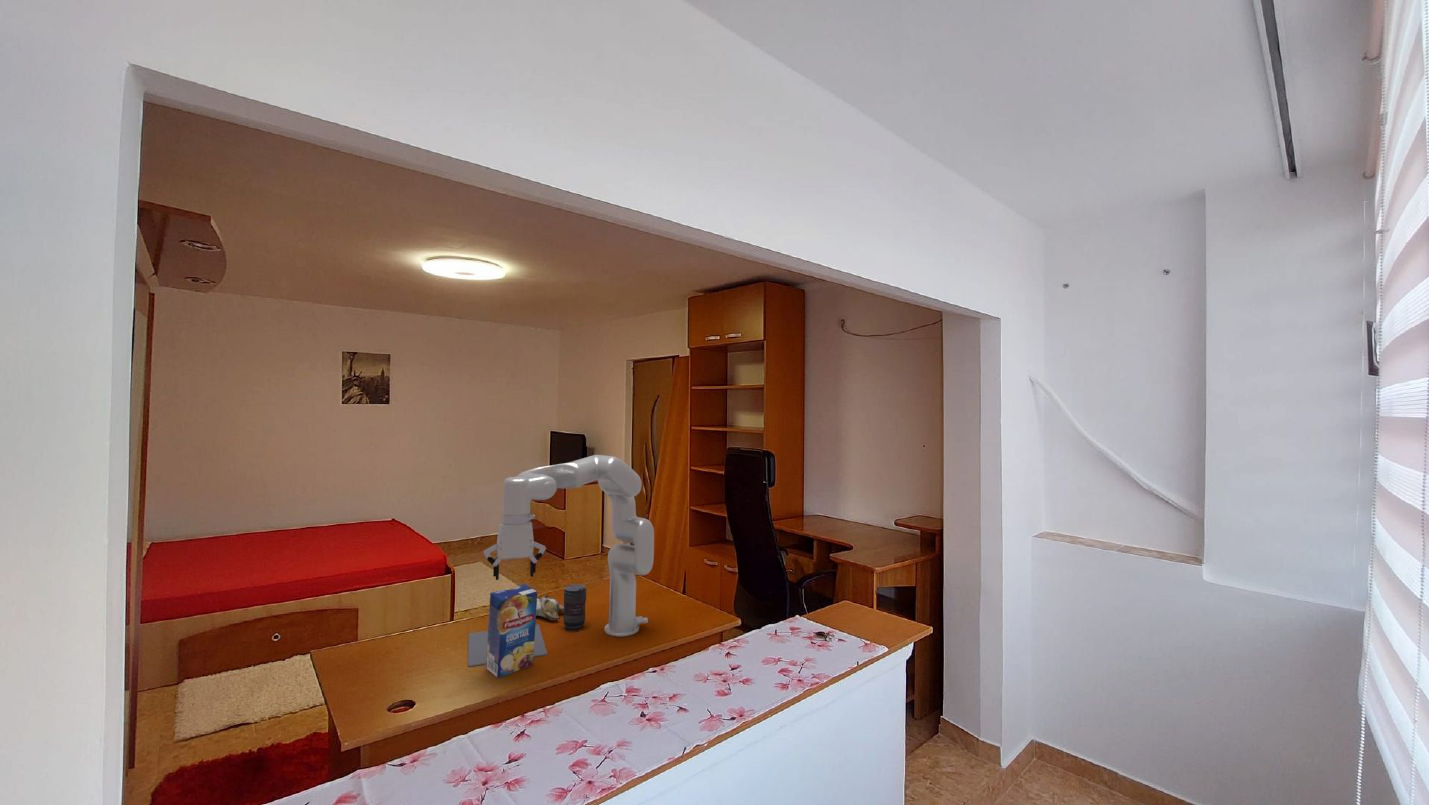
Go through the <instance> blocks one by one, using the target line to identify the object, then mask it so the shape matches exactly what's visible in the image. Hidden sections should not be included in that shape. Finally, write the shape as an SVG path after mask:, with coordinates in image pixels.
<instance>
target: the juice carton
mask: <svg viewBox="0 0 1429 805" xmlns="http://www.w3.org/2000/svg"><path fill="white" fill-rule="evenodd" d="M489 594H490V596H489V613H488V626H487V627H488V630H487V631H488V644H487V661H486V665H485V669H487V670H488V671H489V672H490V673H491V674H493V676H495V677H496V678H498V679H499V678H502V677H504V676H507V675H509V674H513V673H515V672H517V671H520V670H523V669H525V668H528V667H531V666H533V665H534V657H533V655H534V640H535V625H537V622H536V621H537V620H536V619H537V616H536V608H537V598H538V590H536V589H535V588H533V587H530V585H529V584H528V585H527V584H526V583H524V584H520V585H516V586H512V587H508V588H504V589H501V590H497V591H494V592H493V591H492V592H490V593H489Z"/></svg>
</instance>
